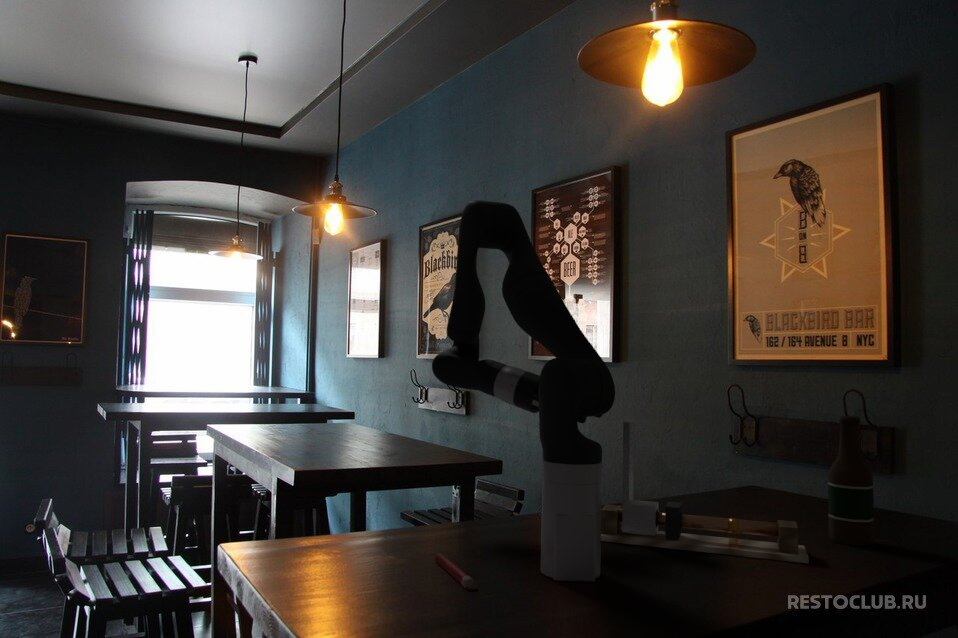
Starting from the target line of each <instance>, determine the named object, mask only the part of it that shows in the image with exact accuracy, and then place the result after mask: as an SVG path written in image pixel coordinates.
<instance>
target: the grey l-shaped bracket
mask: <svg viewBox="0 0 958 638" xmlns="http://www.w3.org/2000/svg"><path fill="white" fill-rule="evenodd" d="M622 422H623V423H622V424H623V426H622V428H623V430H622V489H621V490H622V492H621V493H622V497H621V499H622V500H621V501H622V502H621V503H622V509H623V516H622V532H626V533H636V534H645V535H656V533H657V531H659V525H656V512H659V502H658V501H649V500H641V499H640V500H637V499H634V483H635V482H634V475H635V473H634V470H635V469H634V467H635V461H634V460H635V455H634V454H635V420H631V419H630V420H629V419H628V420H625V421H622Z"/></svg>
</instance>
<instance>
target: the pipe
mask: <svg viewBox="0 0 958 638" xmlns="http://www.w3.org/2000/svg"><path fill="white" fill-rule="evenodd" d="M622 516H623V508H622V509H620V508H619V512H618V520H619V521H620V522H622ZM656 525H658V526H663V527H665V512H661V511H658V512H656ZM679 527H681V529H682V528H683V529H693V530H704V531H711V532H712V531H714V532H722V533H729V534H738V535H739V534H743V535H751V536H752V535H753V536H763V537H774V538H778V537H779V524H778V522H771V521H770V522H769V521H759V520H749V519H748V520H747V519H739V518H735V517H728V518H727V517H726V518H725V517H717V516H716V517H715V516H705V515H695V514H684V513H681V514H680V522H679Z"/></svg>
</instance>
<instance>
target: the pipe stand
mask: <svg viewBox="0 0 958 638" xmlns="http://www.w3.org/2000/svg"><path fill="white" fill-rule="evenodd" d="M619 508H620V509H623V505H617V504H605V505H604V506H603V507H601V542H605V543H607V542H608V543H615V544H623V545H624V544H625V545H635V546H643V547H644V546H645V547H654V548H661V549H662V548H664V549H672V550H679V551H691V552H699V553H707V554H708V553H709V554H716V555H718V554H719V555H727V556H728V555H729V556H734V557H744V558H746V557H747V558H755V559H763V560H773V561H782V562H791V563H793V562H794V563H801V564H809V563H810V556H809V555H808V552H807V549H806V547H805V545H802V544H801V545H800V544H799V527H798V525H797V521H792V520H783V519H782V520H780V519H777V523H778V524H779V537H777V542H773V541H772V542H771V541H763V540H751V539H744V538H743V539H741V538H736V537H723V536H722V537H720V536H711V535H703V534H692V533H682V532H681V535H680V538H679V539H671V538H665V530H664V531H662V530H658V531H657V533H656V535H645V534H636V533H626V532H622V522H620V521H619V520H618V512H619Z"/></svg>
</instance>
